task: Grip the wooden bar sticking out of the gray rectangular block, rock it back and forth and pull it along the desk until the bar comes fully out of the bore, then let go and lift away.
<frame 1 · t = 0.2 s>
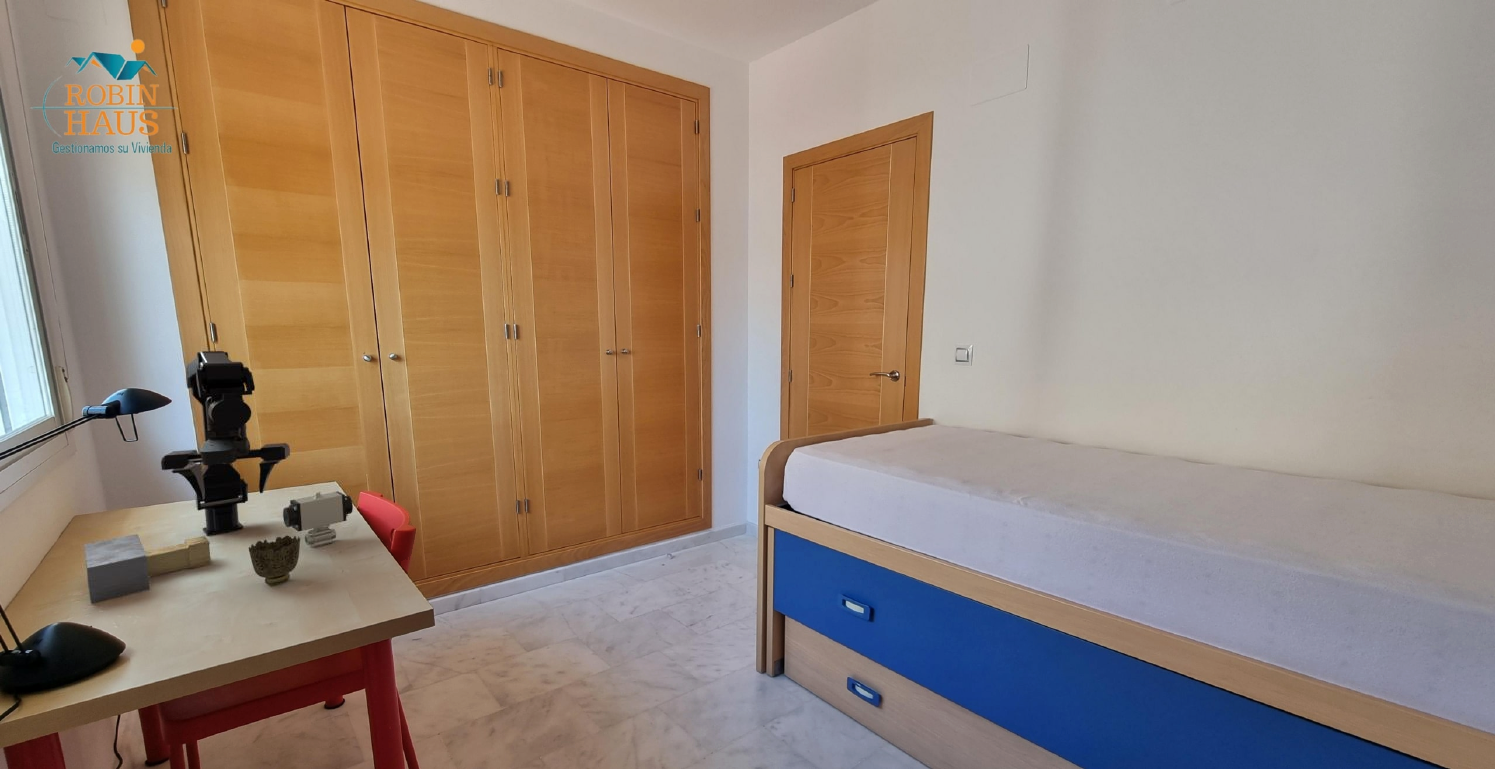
hand: (232, 496, 113), 14 cm above the table, tool pointing down, fingers open, 9 cm apart
wooden bar: (154, 561, 107), point 3 cm above the table, slide at 0.0 cm
pneumatic valve: (320, 544, 123), on the table
cup: (277, 583, 104), on the table
gray rectangular block: (117, 582, 104), on the table
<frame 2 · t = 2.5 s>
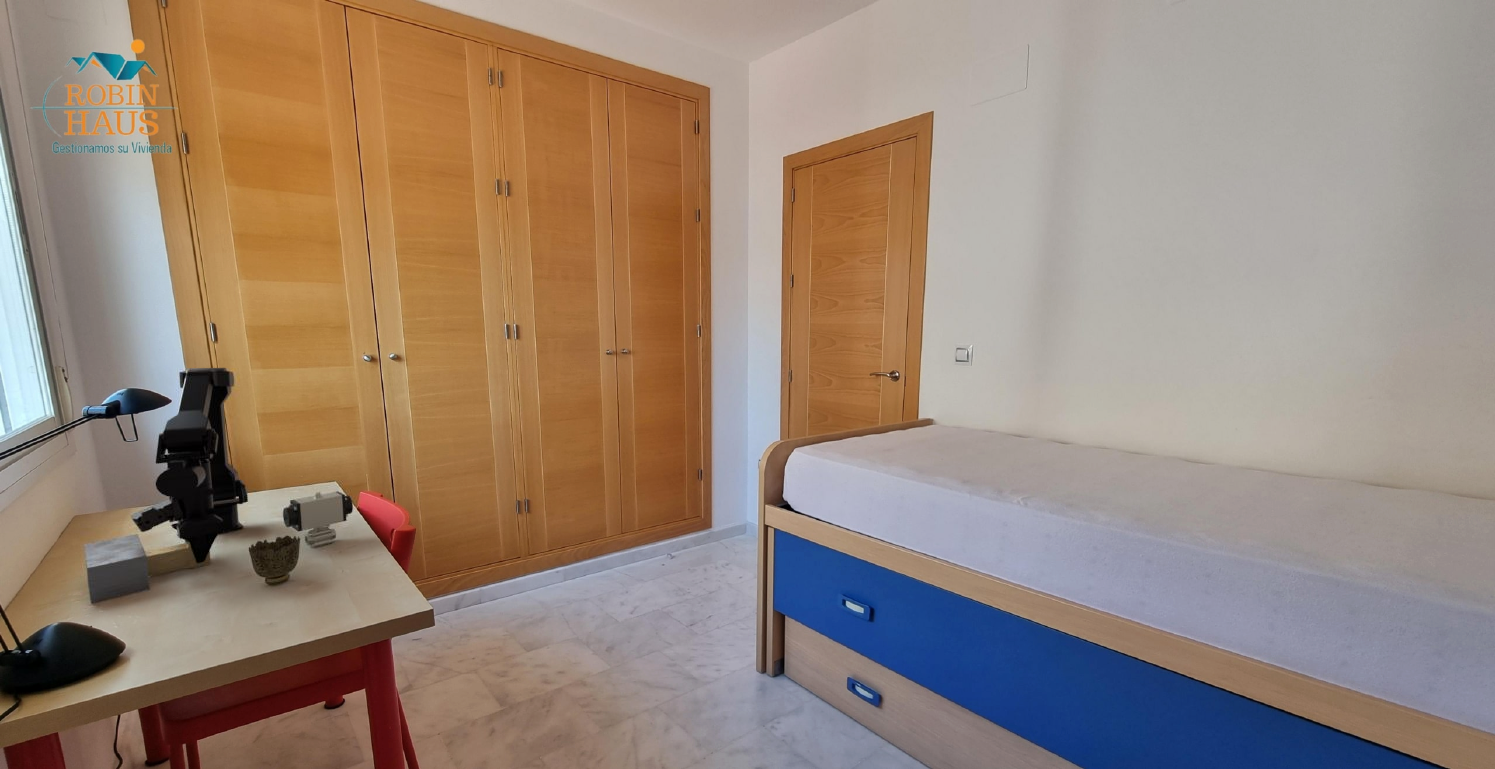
hand: (198, 559, 112), 1 cm above the table, tool pointing down, fingers closed on wooden bar, 5 cm apart
wooden bar: (154, 561, 107), point 3 cm above the table, slide at 0.0 cm, touching gripper
everything else where it was.
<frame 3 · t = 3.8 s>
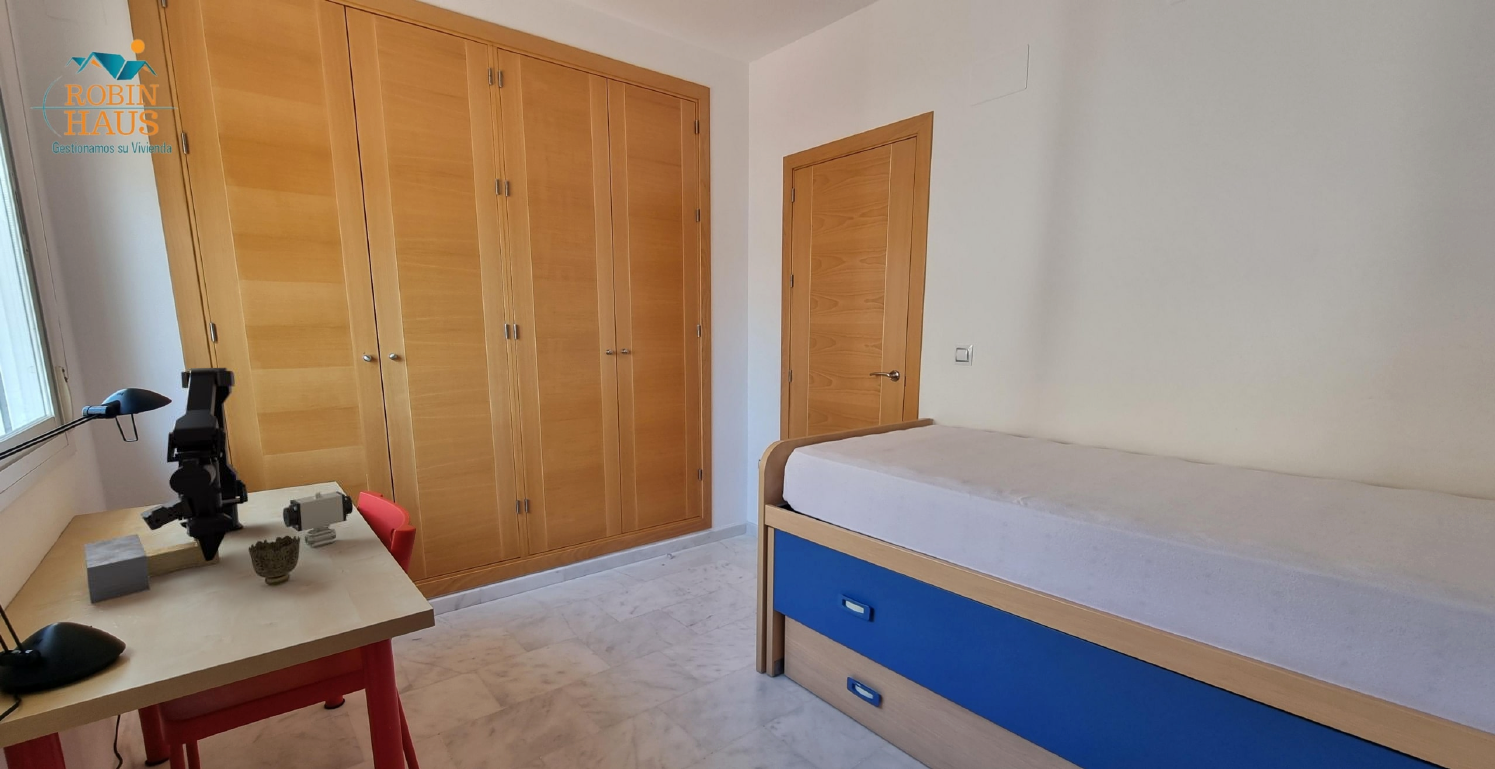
hand: (207, 557, 113), 1 cm above the table, tool pointing down, fingers closed on wooden bar, 5 cm apart
wooden bar: (164, 559, 108), point 3 cm above the table, slide at 1.3 cm, touching gripper
everything else where it was.
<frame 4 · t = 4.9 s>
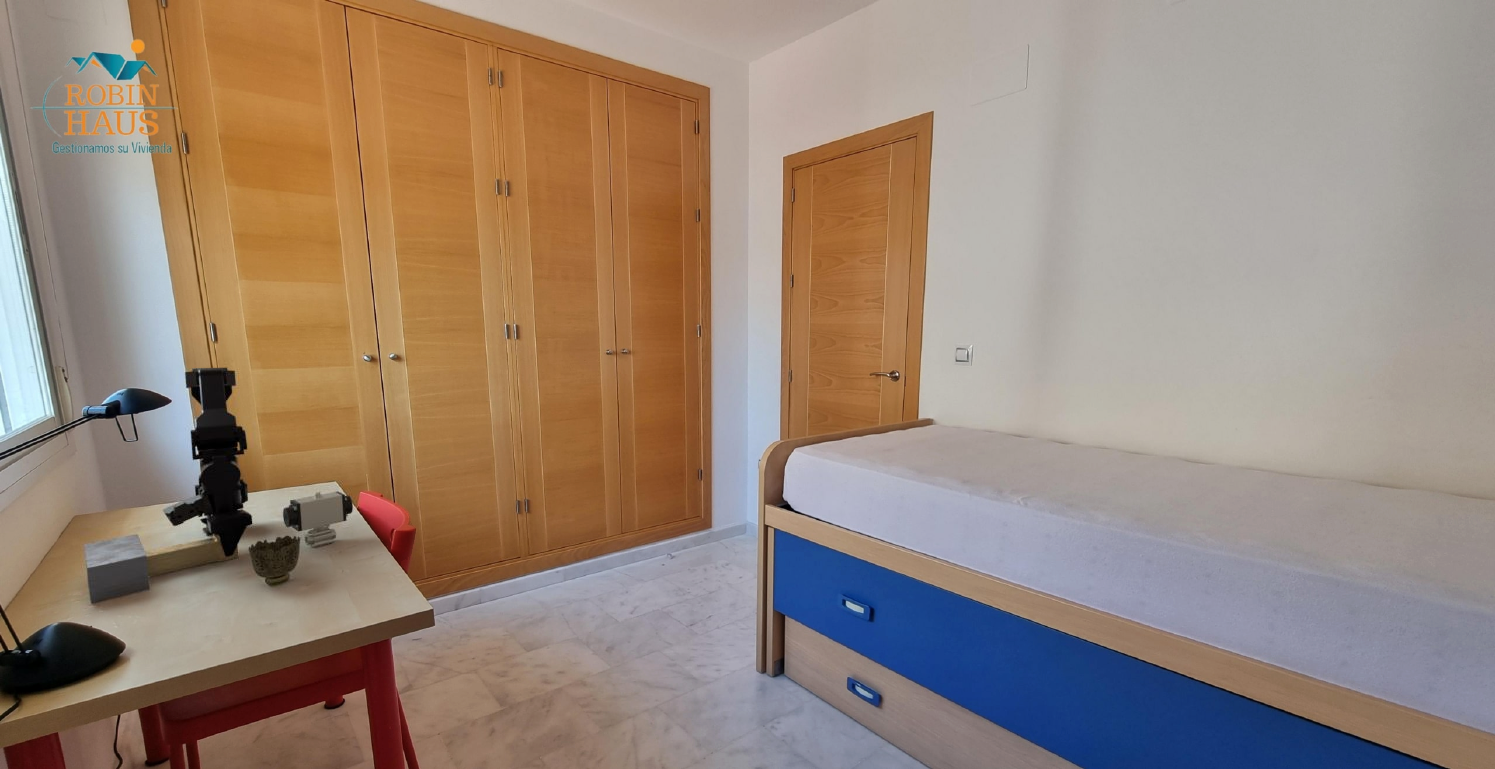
hand: (226, 552, 115), 1 cm above the table, tool pointing down, fingers closed on wooden bar, 5 cm apart
wooden bar: (185, 554, 111), point 3 cm above the table, slide at 4.2 cm, touching gripper
everything else where it was.
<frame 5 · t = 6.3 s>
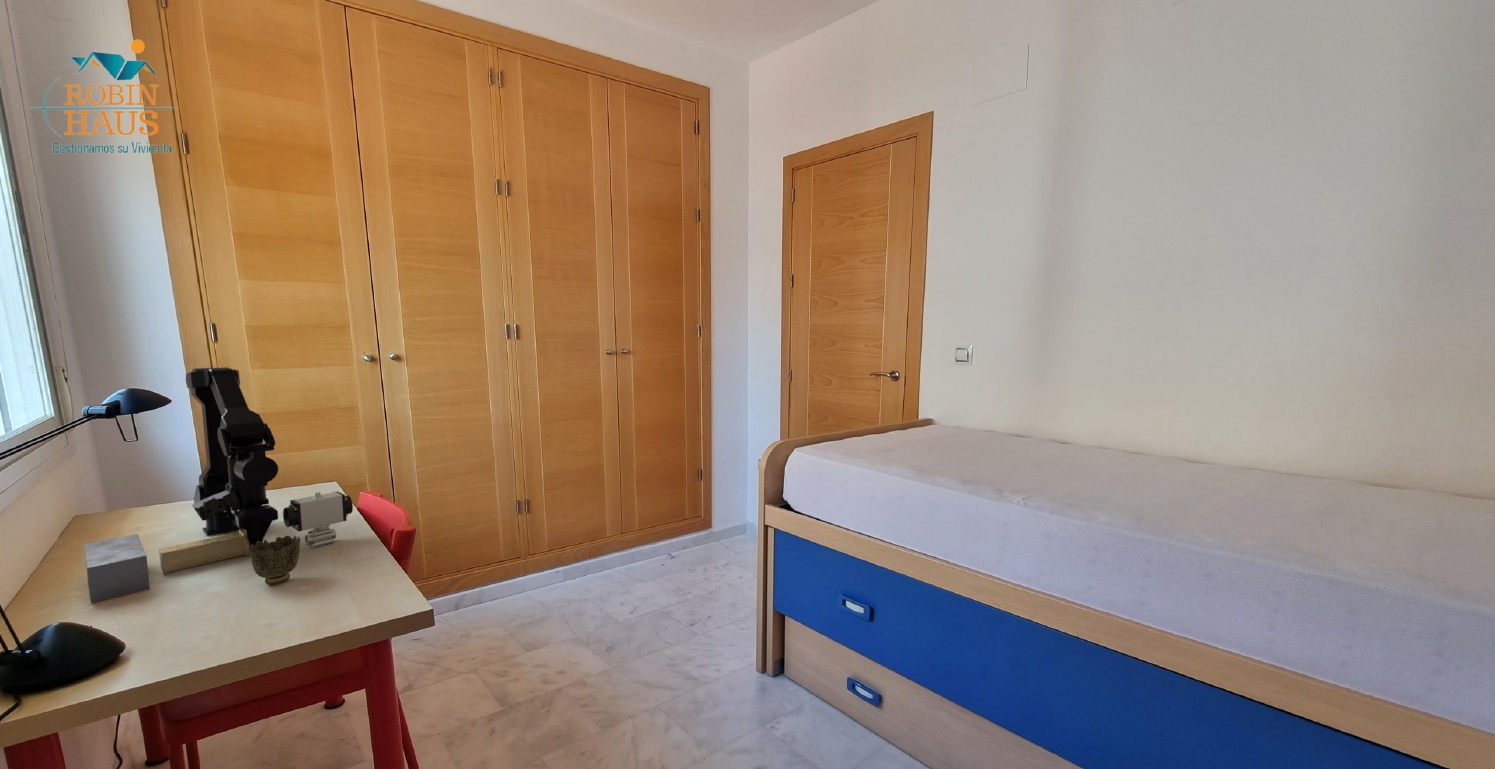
hand: (252, 547, 119), 1 cm above the table, tool pointing down, fingers closed on wooden bar, 5 cm apart
wooden bar: (213, 548, 114), point 3 cm above the table, slide at 8.3 cm, touching gripper
everything else where it was.
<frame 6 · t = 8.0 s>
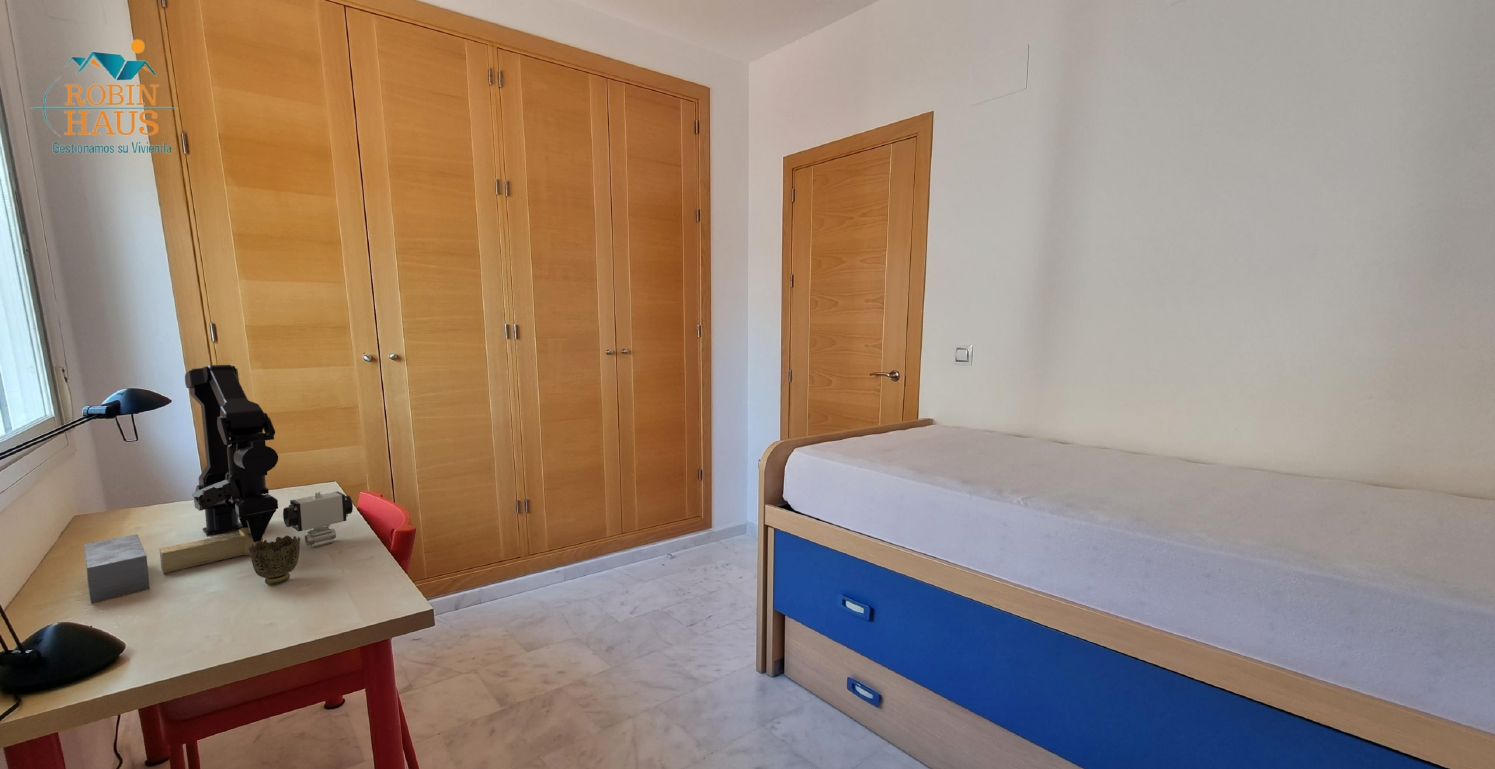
hand: (252, 536, 119), 3 cm above the table, tool pointing down, fingers open, 9 cm apart
wooden bar: (213, 548, 114), point 3 cm above the table, slide at 8.4 cm
everything else where it was.
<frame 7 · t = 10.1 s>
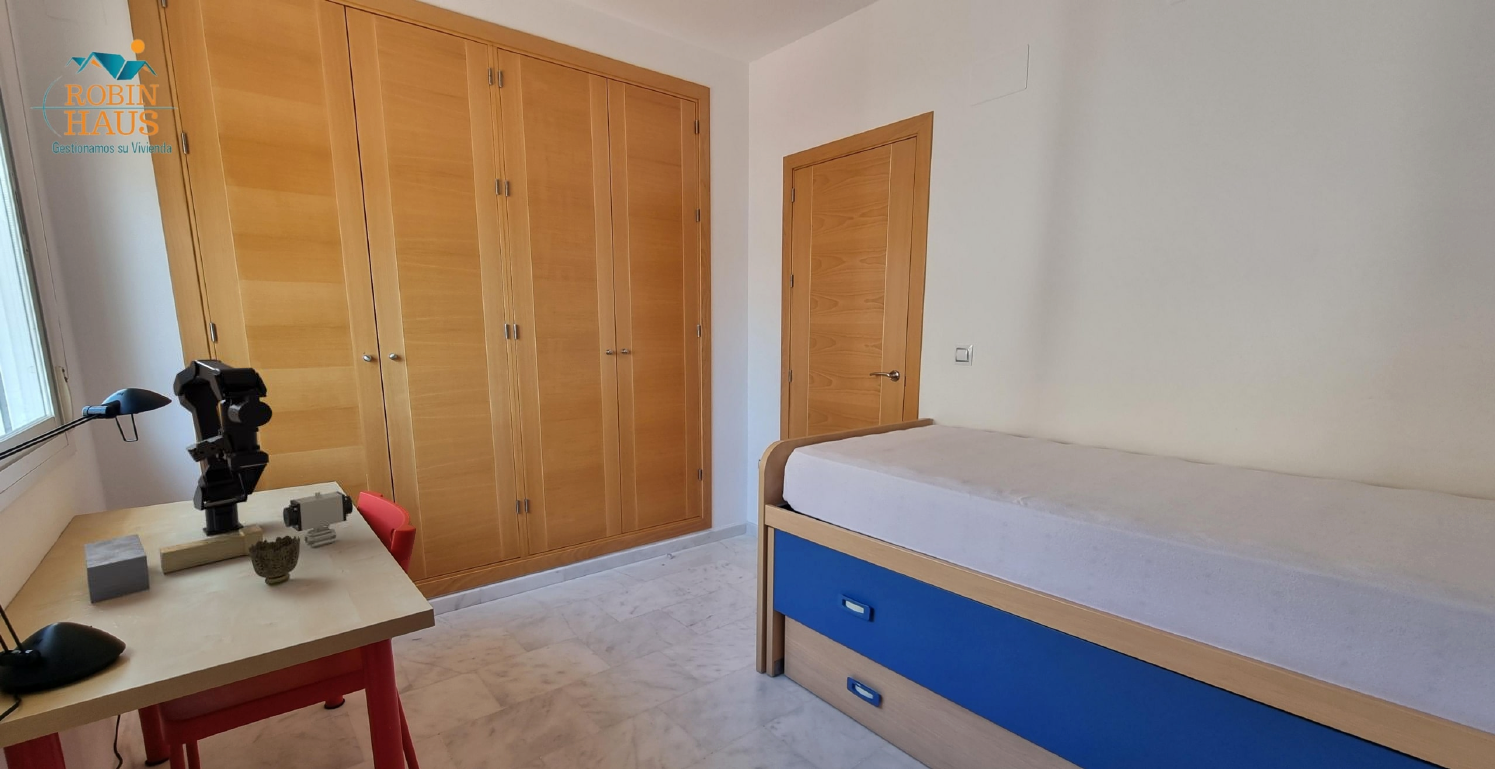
hand: (244, 491, 123), 12 cm above the table, tool pointing down, fingers open, 9 cm apart
nothing on the table moved.
at the end: wooden bar slide at 8.4 cm; the gripper is holding nothing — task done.
